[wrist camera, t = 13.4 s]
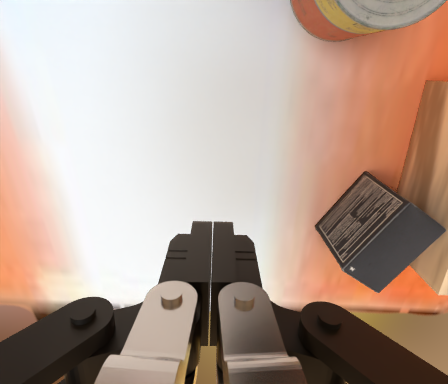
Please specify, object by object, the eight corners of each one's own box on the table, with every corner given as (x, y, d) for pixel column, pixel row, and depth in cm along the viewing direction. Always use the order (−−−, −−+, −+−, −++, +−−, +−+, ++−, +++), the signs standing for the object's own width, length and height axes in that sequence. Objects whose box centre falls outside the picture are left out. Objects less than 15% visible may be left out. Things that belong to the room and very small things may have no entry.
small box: (345, 248, 46) (379, 297, 36) (312, 226, 44) (338, 271, 35) (398, 194, 43) (451, 232, 33) (365, 169, 41) (409, 200, 31)
